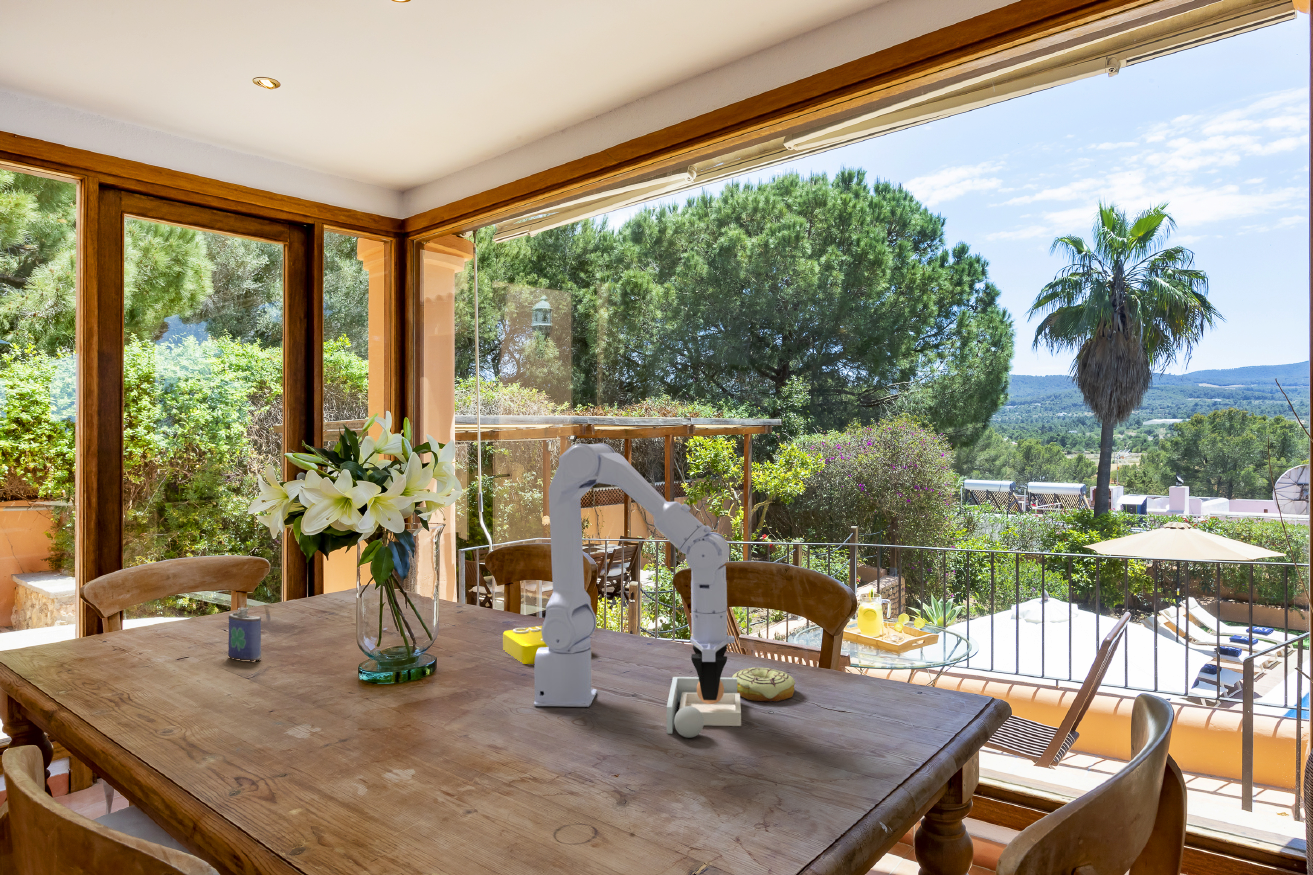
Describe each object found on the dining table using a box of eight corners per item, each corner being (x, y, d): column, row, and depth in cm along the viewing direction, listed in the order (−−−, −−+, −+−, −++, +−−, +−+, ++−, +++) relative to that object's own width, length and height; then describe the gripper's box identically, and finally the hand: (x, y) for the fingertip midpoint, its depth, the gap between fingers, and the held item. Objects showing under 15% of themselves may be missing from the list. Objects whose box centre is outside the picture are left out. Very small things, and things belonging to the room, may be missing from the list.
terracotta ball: (696, 707, 123) (695, 679, 123) (697, 698, 127) (697, 671, 128) (724, 708, 123) (723, 680, 123) (724, 699, 127) (723, 672, 127)
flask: (264, 660, 160) (263, 608, 160) (250, 663, 158) (250, 610, 158) (236, 654, 165) (236, 604, 165) (223, 658, 162) (222, 606, 162)
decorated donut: (777, 709, 128) (777, 686, 128) (721, 697, 134) (721, 675, 134) (804, 691, 136) (804, 670, 136) (750, 681, 143) (750, 660, 143)
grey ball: (673, 741, 114) (673, 711, 114) (675, 730, 118) (674, 701, 118) (703, 742, 113) (703, 712, 114) (704, 731, 118) (703, 702, 118)
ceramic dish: (678, 724, 121) (678, 711, 121) (682, 703, 130) (682, 691, 130) (741, 725, 120) (740, 712, 120) (739, 704, 129) (739, 692, 129)
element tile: (524, 668, 154) (524, 643, 154) (500, 651, 167) (500, 628, 167) (593, 656, 161) (593, 633, 161) (565, 641, 174) (564, 619, 174)
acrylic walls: (666, 733, 117) (666, 706, 117) (673, 700, 132) (673, 676, 132) (739, 734, 116) (738, 708, 116) (737, 701, 131) (736, 677, 131)
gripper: (734, 620, 118) (735, 710, 118) (733, 600, 132) (734, 680, 132) (688, 619, 118) (689, 709, 118) (691, 600, 133) (692, 680, 133)
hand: (710, 694), depth 125 cm, fingers closed on terracotta ball, 4 cm apart
